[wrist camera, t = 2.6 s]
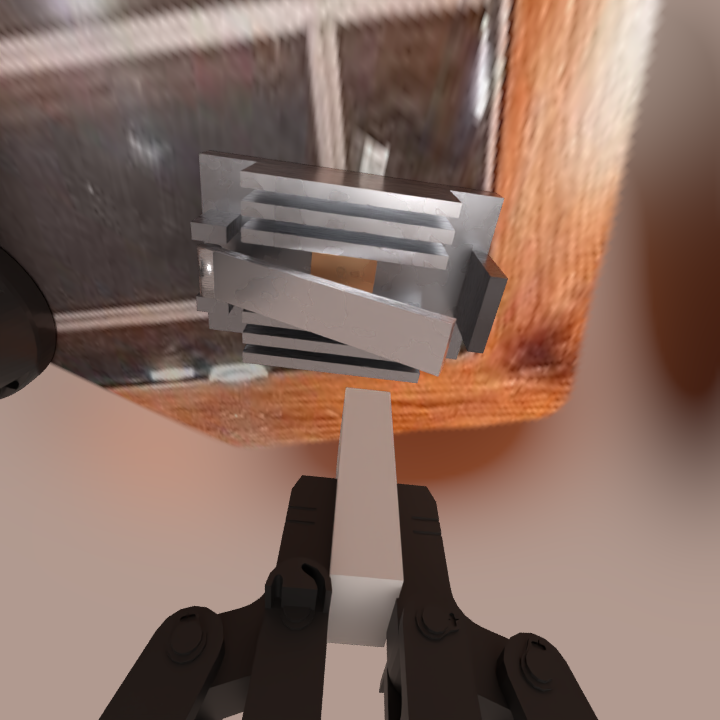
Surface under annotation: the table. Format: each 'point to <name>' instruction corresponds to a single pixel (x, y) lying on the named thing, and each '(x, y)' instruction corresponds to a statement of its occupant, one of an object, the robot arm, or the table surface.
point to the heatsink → (351, 252)
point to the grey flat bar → (327, 308)
